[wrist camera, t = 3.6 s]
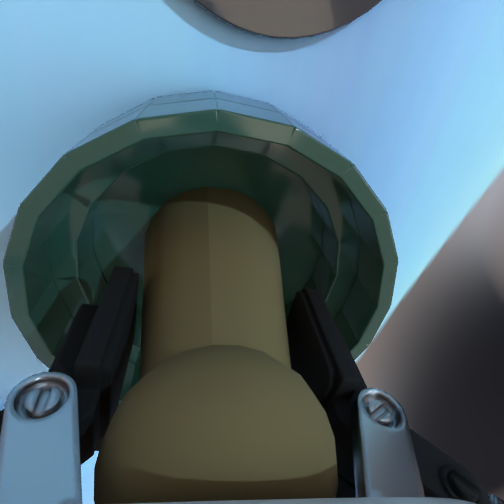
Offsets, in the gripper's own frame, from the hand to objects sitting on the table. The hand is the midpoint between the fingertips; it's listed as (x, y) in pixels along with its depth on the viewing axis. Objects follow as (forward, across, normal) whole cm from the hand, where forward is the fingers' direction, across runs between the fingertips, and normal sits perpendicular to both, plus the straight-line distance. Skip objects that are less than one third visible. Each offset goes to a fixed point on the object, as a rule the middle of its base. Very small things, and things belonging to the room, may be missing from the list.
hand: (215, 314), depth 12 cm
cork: (+5, 0, 0) cm, 5 cm away
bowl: (+5, 0, 0) cm, 5 cm away
